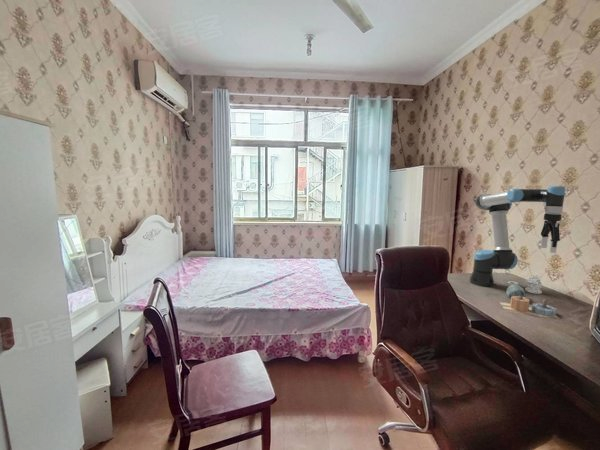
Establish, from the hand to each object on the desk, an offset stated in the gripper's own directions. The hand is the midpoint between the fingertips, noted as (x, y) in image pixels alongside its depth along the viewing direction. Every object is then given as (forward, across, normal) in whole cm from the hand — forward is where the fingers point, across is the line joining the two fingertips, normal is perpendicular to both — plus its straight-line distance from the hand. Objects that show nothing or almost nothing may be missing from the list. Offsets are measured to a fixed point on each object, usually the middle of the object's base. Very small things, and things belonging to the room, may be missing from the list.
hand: (547, 250), depth 170 cm
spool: (+33, -3, -12) cm, 35 cm away
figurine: (+33, -24, +3) cm, 41 cm away
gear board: (+33, +16, -10) cm, 38 cm away
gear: (+32, +16, -4) cm, 36 cm away
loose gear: (+32, +16, -14) cm, 39 cm away
